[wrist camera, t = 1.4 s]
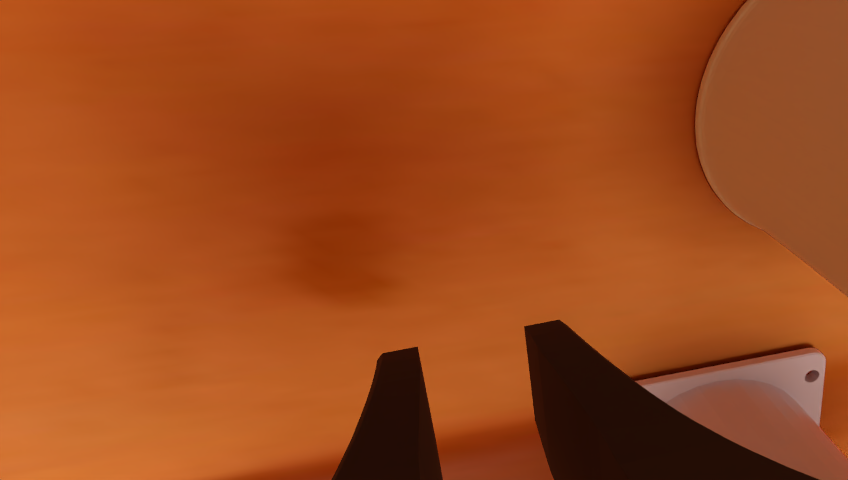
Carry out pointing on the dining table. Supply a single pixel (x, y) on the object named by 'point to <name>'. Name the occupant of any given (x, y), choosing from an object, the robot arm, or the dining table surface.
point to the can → (782, 126)
